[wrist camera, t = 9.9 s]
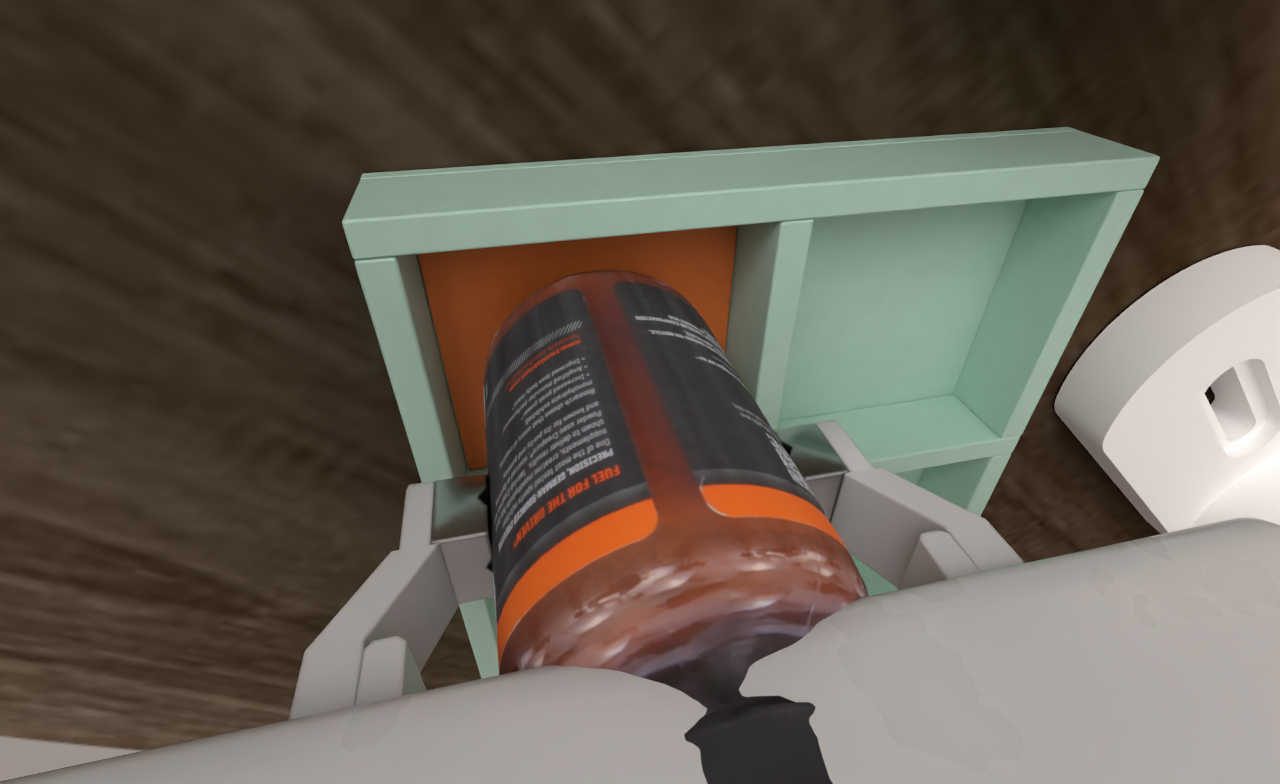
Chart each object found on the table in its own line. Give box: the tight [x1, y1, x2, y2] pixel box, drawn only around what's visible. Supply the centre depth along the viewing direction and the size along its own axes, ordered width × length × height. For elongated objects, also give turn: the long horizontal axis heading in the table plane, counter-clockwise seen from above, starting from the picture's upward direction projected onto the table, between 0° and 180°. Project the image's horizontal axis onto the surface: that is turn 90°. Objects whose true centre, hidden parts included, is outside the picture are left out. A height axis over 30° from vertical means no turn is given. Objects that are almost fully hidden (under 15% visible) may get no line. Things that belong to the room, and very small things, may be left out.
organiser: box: [342, 127, 1160, 679], centre depth 19 cm, size 18×18×3 cm
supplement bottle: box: [483, 270, 868, 784], centre depth 12 cm, size 6×6×11 cm
